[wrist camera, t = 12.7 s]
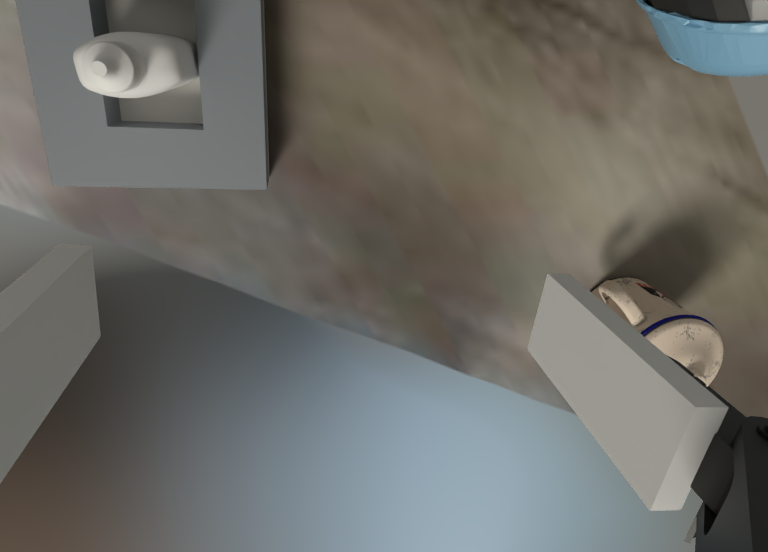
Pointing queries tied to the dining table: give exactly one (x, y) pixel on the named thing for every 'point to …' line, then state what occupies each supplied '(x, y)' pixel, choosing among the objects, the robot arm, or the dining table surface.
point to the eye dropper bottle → (135, 63)
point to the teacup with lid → (665, 325)
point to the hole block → (153, 96)
